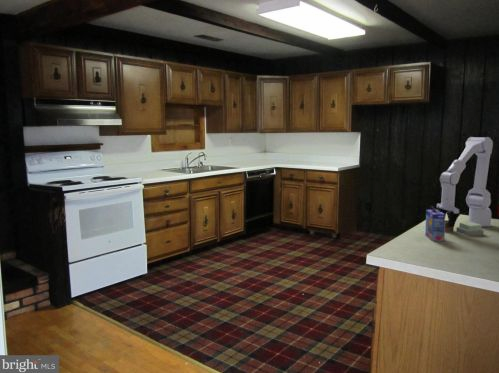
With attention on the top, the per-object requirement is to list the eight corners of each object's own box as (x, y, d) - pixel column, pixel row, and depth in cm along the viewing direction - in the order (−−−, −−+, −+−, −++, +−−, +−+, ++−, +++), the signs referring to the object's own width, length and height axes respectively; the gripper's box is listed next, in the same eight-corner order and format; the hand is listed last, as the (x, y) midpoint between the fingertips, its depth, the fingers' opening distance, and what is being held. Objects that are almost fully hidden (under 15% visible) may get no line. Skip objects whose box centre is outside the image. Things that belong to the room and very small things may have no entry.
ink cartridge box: (424, 235, 189) (425, 204, 187) (436, 235, 188) (438, 204, 186) (431, 241, 179) (433, 208, 177) (444, 241, 178) (446, 208, 176)
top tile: (471, 227, 194) (472, 221, 194) (481, 230, 188) (481, 225, 188) (459, 227, 193) (459, 222, 193) (468, 231, 187) (468, 225, 187)
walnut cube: (447, 229, 199) (448, 220, 198) (453, 231, 194) (454, 222, 193) (439, 229, 198) (439, 220, 197) (444, 232, 194) (445, 222, 193)
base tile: (471, 231, 196) (472, 226, 195) (483, 235, 188) (483, 230, 188) (456, 232, 195) (456, 227, 194) (467, 236, 187) (467, 231, 187)
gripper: (431, 195, 200) (430, 222, 202) (449, 200, 186) (447, 229, 188) (444, 194, 201) (443, 221, 203) (464, 199, 187) (462, 228, 189)
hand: (446, 225), depth 196 cm, fingers open, 7 cm apart
